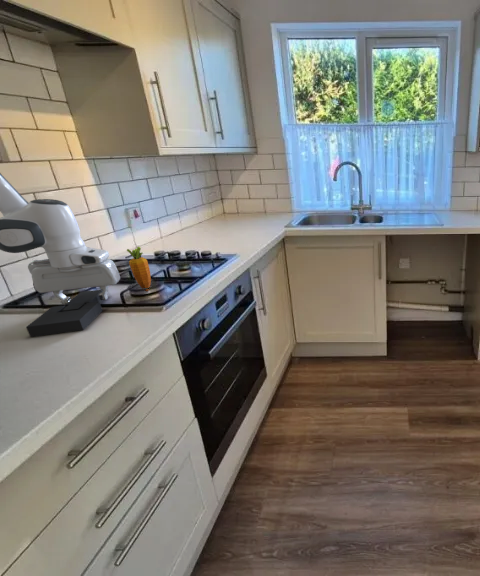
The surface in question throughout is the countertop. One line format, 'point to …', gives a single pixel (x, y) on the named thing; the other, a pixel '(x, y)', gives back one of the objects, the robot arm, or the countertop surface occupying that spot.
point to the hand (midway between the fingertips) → (86, 301)
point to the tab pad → (83, 300)
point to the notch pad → (64, 320)
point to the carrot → (140, 268)
